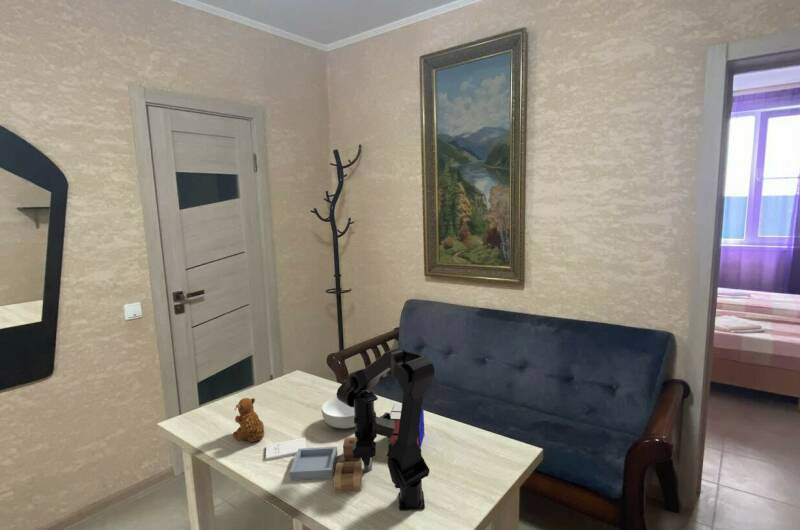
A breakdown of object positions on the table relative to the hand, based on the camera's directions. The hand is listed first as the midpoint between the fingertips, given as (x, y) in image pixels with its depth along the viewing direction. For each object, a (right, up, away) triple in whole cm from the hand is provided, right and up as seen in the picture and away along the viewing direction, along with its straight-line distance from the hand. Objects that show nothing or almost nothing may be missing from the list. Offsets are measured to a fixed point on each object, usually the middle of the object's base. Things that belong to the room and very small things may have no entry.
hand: (367, 462), depth 125 cm
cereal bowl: (-10, +1, +28) cm, 30 cm away
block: (-5, -1, +7) cm, 9 cm away
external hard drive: (-27, -3, +13) cm, 30 cm away
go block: (-5, -3, -6) cm, 8 cm away
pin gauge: (0, -2, 0) cm, 2 cm away
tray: (-16, -2, +3) cm, 16 cm away
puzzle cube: (+12, 0, +14) cm, 19 cm away
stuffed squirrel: (-41, -2, +22) cm, 47 cm away
